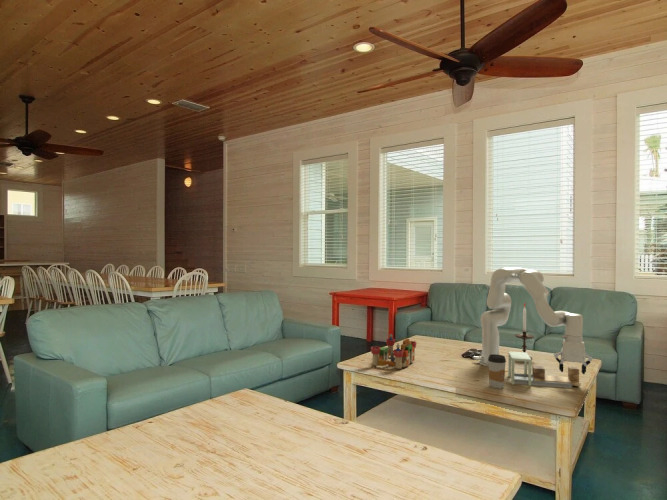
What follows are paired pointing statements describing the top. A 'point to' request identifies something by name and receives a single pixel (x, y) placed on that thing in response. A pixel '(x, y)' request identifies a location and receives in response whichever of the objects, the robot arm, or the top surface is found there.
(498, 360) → the coffee cup
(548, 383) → the lane board
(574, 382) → the strip
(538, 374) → the cube
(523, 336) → the candlestick
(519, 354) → the white stool
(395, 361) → the block castle
